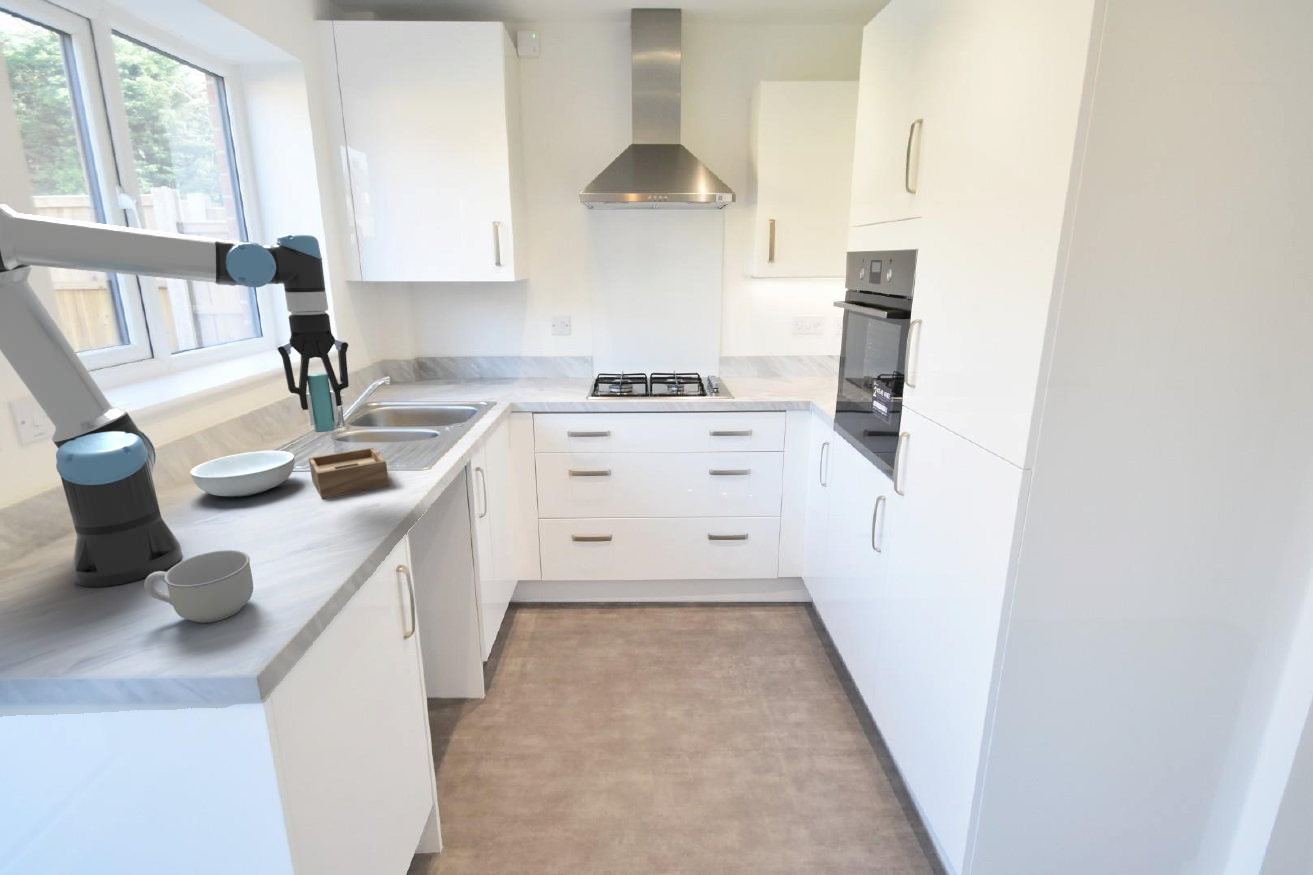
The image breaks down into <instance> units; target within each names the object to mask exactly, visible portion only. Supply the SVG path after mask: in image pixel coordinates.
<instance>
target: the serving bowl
mask: <svg viewBox="0 0 1313 875" xmlns="http://www.w3.org/2000/svg"><path fill="white" fill-rule="evenodd" d="M294 467H295V455H294V453H292V452H289V451H284V450H283V451H282V450H261V451H250V452H242V453H238V454H236V453H235V454H231V455H226V456H222V457H219V458H215V459H211V460H208V461H206V462H202V463H201V464H198V465H196V466H195V467H193V468H192V469H191V470H190V472H189V474H190V476H191V479H192V480H193V482H194V484H195V485H196V487H197V488H198V489H200V490H202V491H203V492H205V493H206V494H209V495H213V496H219V497H234V496H239V497H247V496H253V495H258V494H261V493H263V492H265V491H268V490H270V489H273V488H276V487H277V486H279V485H280V484H282V483H284V482H285V481H286V480H288V478H289V477H290V476H291V474H292V473H293V470H294Z"/></svg>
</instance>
